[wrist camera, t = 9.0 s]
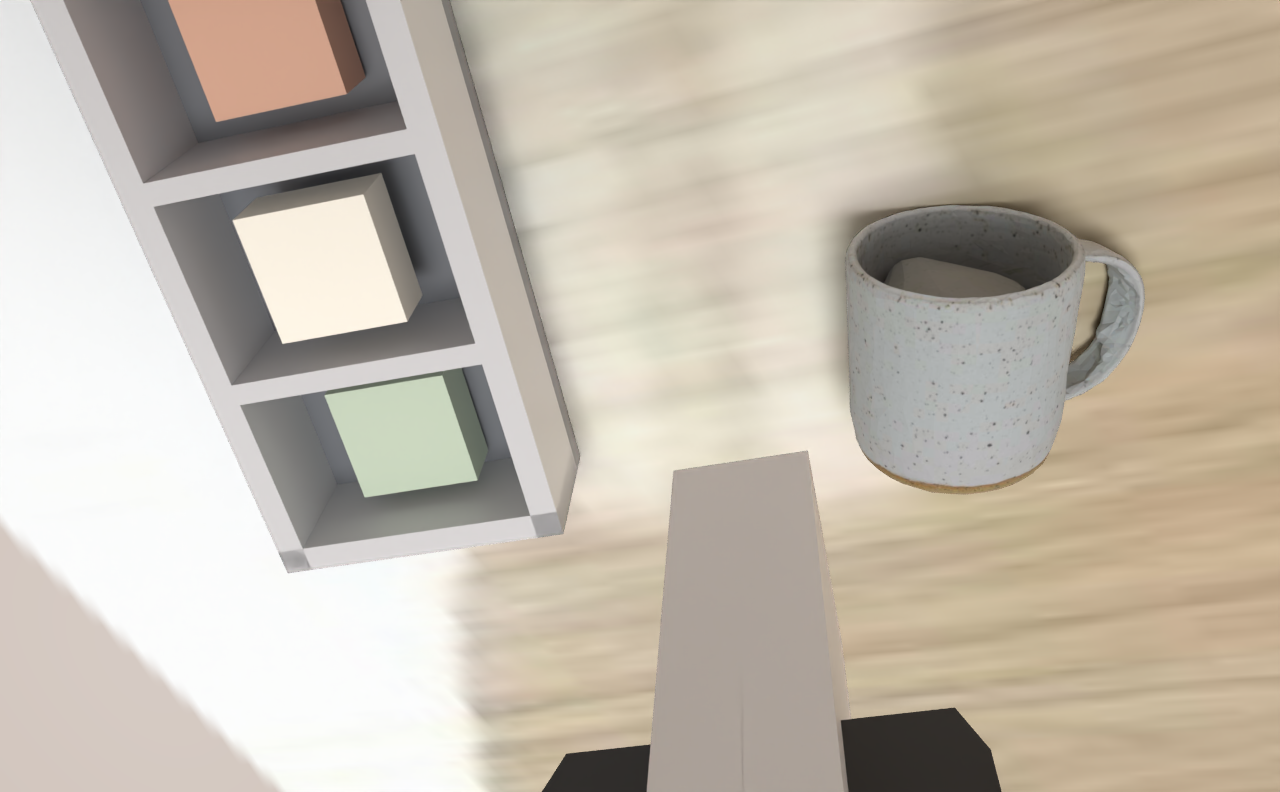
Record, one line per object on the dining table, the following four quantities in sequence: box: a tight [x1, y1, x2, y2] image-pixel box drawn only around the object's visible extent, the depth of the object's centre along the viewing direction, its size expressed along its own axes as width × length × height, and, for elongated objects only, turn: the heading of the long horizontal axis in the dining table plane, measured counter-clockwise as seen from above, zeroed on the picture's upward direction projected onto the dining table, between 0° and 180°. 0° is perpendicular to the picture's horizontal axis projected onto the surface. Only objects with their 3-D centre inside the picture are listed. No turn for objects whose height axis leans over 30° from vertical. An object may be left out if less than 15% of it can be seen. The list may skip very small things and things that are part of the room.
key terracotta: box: [168, 0, 366, 122], centre depth 38 cm, size 5×5×2 cm
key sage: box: [324, 368, 488, 497], centre depth 45 cm, size 5×5×2 cm
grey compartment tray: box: [30, 0, 580, 573], centre depth 41 cm, size 23×11×5 cm, turn 13°
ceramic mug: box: [845, 205, 1145, 494], centre depth 40 cm, size 11×8×8 cm
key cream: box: [232, 173, 422, 344], centre depth 40 cm, size 5×5×2 cm
